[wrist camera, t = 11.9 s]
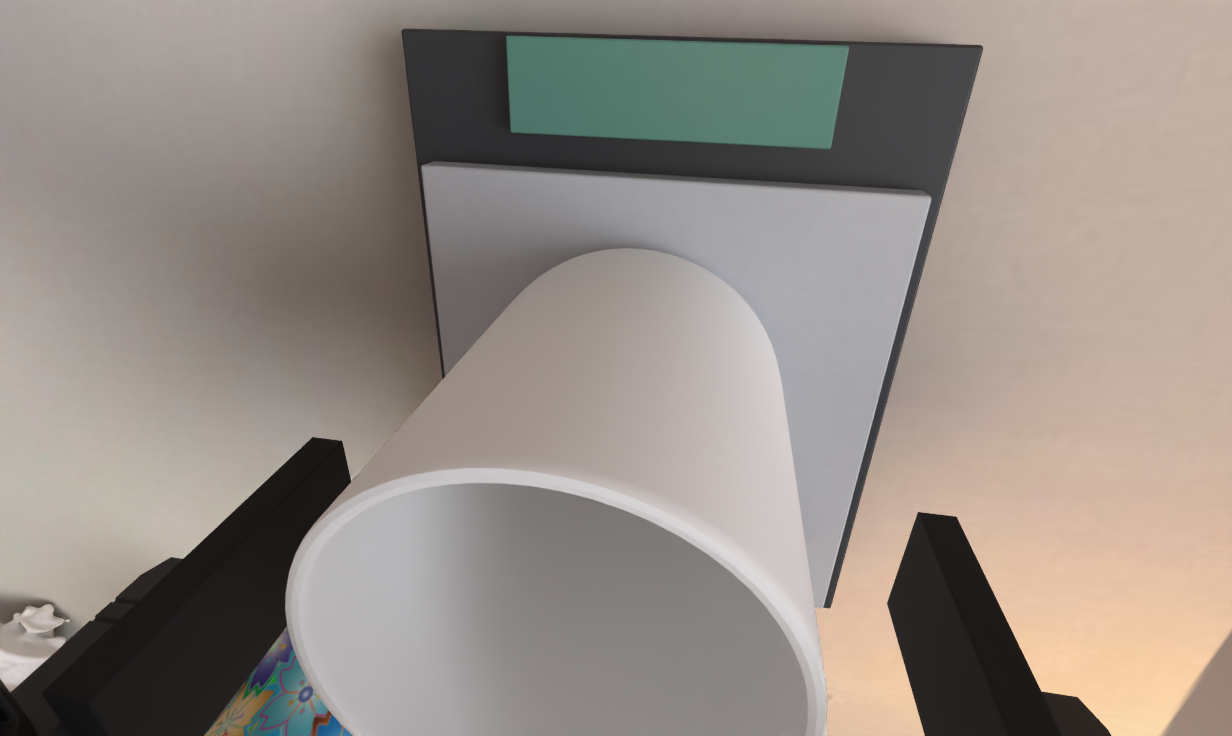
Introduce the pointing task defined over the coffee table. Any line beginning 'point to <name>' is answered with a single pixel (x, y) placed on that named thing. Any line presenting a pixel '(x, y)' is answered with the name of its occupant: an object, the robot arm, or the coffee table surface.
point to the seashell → (27, 643)
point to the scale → (703, 200)
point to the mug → (277, 701)
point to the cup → (576, 530)
